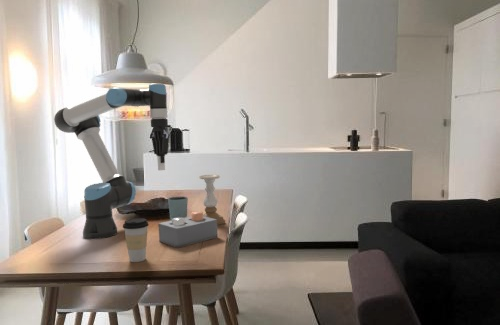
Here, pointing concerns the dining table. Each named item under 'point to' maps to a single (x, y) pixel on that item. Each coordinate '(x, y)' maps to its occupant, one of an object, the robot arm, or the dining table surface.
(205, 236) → the block with square holes
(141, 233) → the coffee cup
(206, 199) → the candle holder
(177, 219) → the silver rounded piece
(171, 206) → the drinking glass
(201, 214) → the brown egg
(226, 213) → the dining table surface
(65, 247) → the dining table surface
